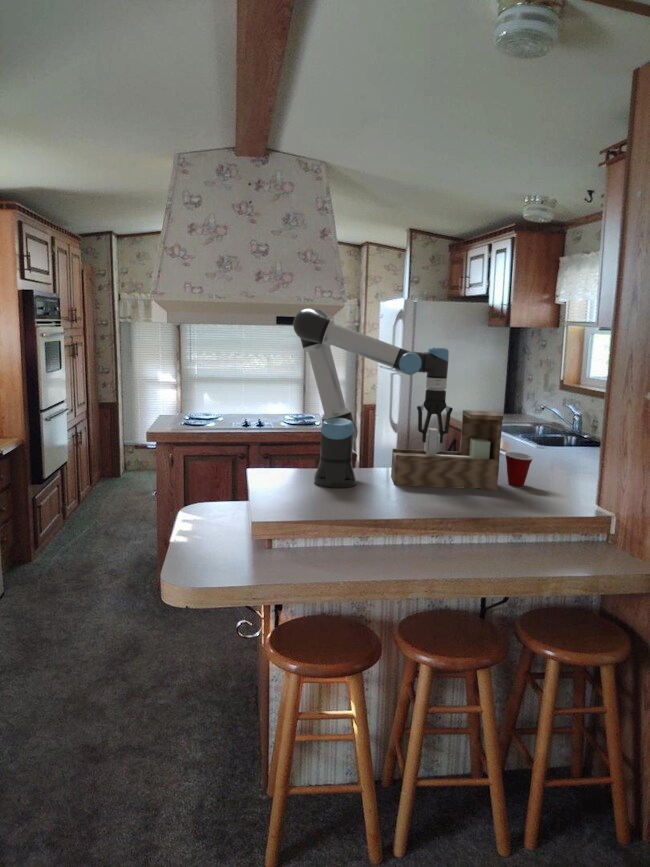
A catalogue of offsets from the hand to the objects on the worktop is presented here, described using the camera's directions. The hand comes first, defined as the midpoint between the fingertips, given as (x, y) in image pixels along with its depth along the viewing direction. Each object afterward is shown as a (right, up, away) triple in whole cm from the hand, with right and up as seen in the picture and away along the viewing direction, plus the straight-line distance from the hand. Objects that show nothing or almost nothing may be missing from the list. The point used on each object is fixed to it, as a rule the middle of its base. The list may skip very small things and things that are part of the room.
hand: (431, 451), depth 249 cm
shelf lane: (+4, -12, +2) cm, 13 cm away
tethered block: (+10, -2, 0) cm, 10 cm away
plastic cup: (+33, -13, +5) cm, 36 cm away
